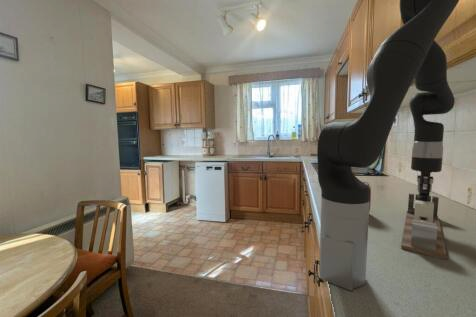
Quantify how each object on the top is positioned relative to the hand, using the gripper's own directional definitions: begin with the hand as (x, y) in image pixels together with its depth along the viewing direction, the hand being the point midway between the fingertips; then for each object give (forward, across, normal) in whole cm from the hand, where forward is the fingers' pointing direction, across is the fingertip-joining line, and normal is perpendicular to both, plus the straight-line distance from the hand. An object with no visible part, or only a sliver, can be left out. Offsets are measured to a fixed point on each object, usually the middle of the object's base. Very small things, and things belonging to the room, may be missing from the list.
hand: (422, 208), depth 74 cm
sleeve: (+4, -4, 0) cm, 6 cm away
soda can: (+6, +3, +19) cm, 20 cm away
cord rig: (+6, -3, 0) cm, 7 cm away
